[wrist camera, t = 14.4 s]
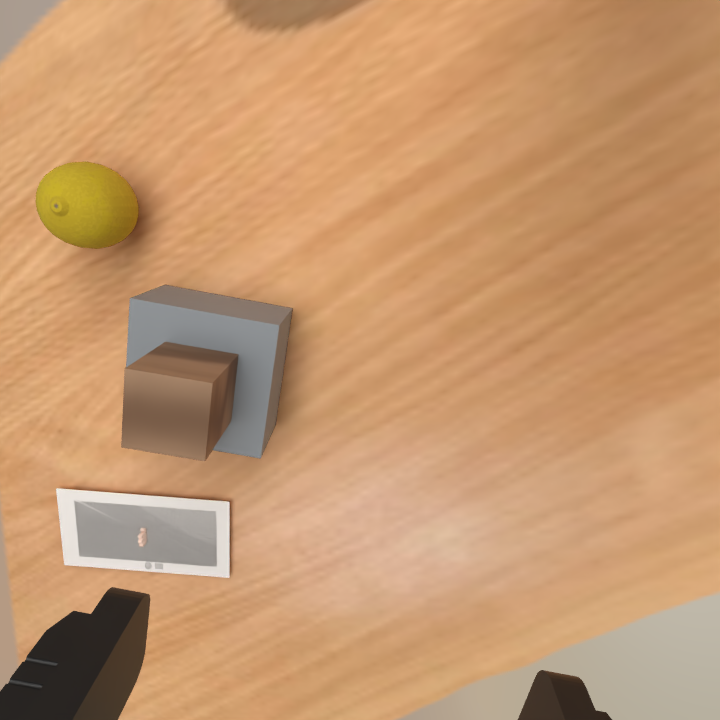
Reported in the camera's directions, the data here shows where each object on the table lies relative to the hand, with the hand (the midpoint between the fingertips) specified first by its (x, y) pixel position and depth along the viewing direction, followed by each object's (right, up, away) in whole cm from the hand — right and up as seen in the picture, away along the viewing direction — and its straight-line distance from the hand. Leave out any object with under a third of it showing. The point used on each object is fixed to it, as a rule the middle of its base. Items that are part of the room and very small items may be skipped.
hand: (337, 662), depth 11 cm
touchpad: (-19, -9, +36) cm, 42 cm away
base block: (-11, +6, +31) cm, 33 cm away
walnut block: (-11, +5, +25) cm, 28 cm away
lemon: (-17, +18, +28) cm, 37 cm away
